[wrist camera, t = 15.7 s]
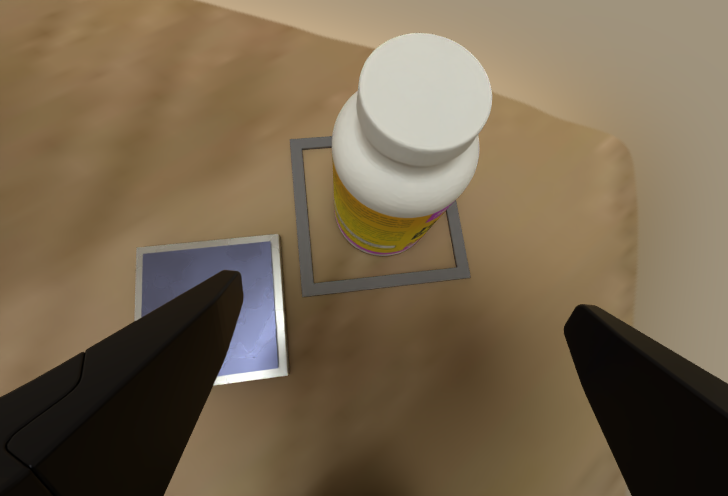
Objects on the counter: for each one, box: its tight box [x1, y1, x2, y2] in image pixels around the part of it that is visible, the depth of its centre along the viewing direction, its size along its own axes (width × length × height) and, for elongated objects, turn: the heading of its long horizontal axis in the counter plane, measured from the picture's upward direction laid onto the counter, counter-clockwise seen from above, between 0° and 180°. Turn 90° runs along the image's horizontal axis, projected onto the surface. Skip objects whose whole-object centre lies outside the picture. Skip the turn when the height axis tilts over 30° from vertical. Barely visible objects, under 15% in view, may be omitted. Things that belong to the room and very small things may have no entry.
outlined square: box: [290, 136, 471, 297], centre depth 24 cm, size 12×12×1 cm
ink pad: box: [135, 234, 290, 385], centre depth 21 cm, size 9×9×1 cm
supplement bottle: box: [332, 33, 492, 256], centre depth 17 cm, size 7×7×13 cm
